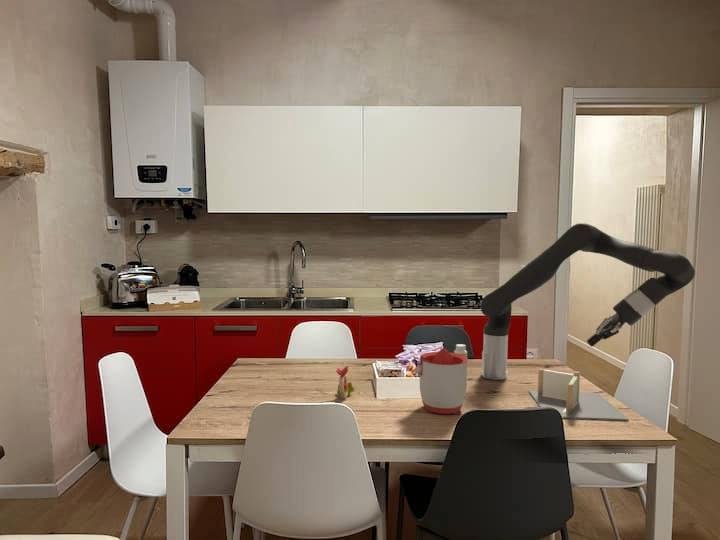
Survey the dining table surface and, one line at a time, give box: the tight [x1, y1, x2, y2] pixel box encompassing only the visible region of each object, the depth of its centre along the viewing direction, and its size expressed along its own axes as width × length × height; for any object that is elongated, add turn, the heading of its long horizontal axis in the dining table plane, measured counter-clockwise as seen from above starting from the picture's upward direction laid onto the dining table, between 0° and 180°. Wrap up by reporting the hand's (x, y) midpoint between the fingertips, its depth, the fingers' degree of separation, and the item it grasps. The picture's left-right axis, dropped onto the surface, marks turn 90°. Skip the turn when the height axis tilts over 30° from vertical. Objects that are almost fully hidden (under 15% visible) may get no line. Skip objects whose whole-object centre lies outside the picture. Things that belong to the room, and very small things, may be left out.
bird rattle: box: [336, 365, 355, 401], centre depth 179 cm, size 6×11×9 cm
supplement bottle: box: [453, 343, 468, 358], centre depth 217 cm, size 5×5×10 cm
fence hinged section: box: [566, 376, 578, 412], centre depth 169 cm, size 12×2×9 cm, turn 149°
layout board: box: [528, 390, 630, 422], centre depth 173 cm, size 24×25×1 cm
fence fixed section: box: [537, 368, 581, 402], centre depth 178 cm, size 14×2×10 cm, turn 55°
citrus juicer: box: [413, 347, 469, 415], centre depth 168 cm, size 16×17×20 cm
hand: (589, 343), depth 164 cm, fingers closed
